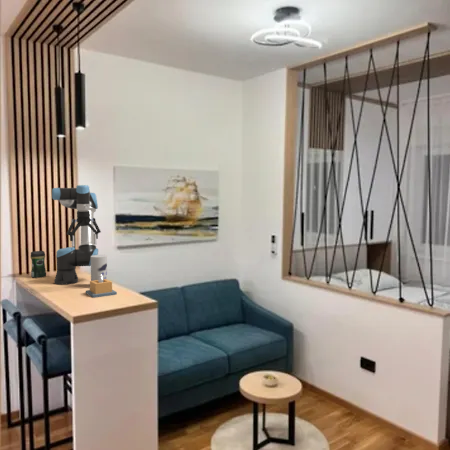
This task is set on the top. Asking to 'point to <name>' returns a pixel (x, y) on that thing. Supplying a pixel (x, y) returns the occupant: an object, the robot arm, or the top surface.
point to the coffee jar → (38, 264)
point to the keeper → (100, 280)
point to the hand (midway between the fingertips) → (84, 245)
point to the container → (98, 266)
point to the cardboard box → (100, 286)
